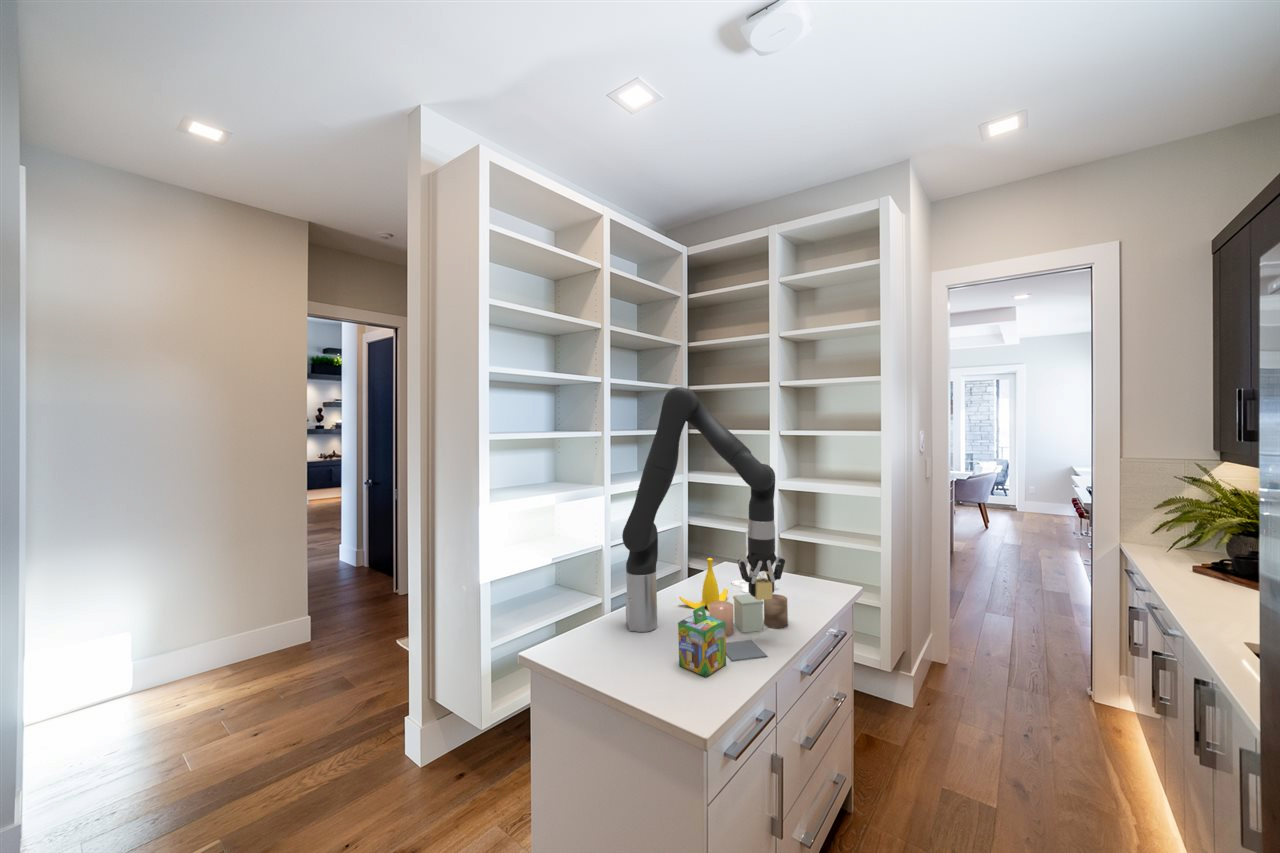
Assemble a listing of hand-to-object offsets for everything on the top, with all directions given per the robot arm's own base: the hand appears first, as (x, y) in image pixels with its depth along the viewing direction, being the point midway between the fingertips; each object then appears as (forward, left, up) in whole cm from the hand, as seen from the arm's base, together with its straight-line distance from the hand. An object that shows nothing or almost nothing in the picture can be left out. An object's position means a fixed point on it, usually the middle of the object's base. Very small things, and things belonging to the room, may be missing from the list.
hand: (761, 594), depth 146 cm
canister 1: (-9, +9, -13) cm, 18 cm away
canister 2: (+9, +10, -13) cm, 19 cm away
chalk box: (-21, -9, -14) cm, 27 cm away
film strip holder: (+17, +44, -14) cm, 49 cm away
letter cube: (0, 0, -1) cm, 1 cm away
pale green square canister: (0, +10, -13) cm, 17 cm away
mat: (-8, -4, -13) cm, 16 cm away
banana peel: (-5, +26, -14) cm, 30 cm away
